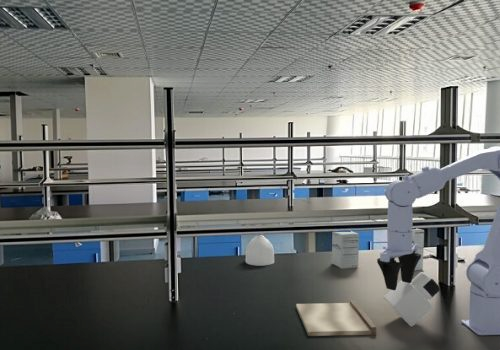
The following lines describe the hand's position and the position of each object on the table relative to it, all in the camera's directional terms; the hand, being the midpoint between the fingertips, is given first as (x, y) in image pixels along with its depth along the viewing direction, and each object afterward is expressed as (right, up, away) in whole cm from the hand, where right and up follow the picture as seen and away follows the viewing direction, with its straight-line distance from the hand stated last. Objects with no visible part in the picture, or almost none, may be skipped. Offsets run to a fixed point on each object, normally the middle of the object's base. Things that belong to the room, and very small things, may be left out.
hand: (399, 285), depth 106 cm
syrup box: (+22, -7, +51) cm, 56 cm away
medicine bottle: (0, -8, +3) cm, 8 cm away
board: (-15, -10, +4) cm, 19 cm away
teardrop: (-33, -7, +60) cm, 69 cm away
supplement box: (-1, -7, +55) cm, 55 cm away
